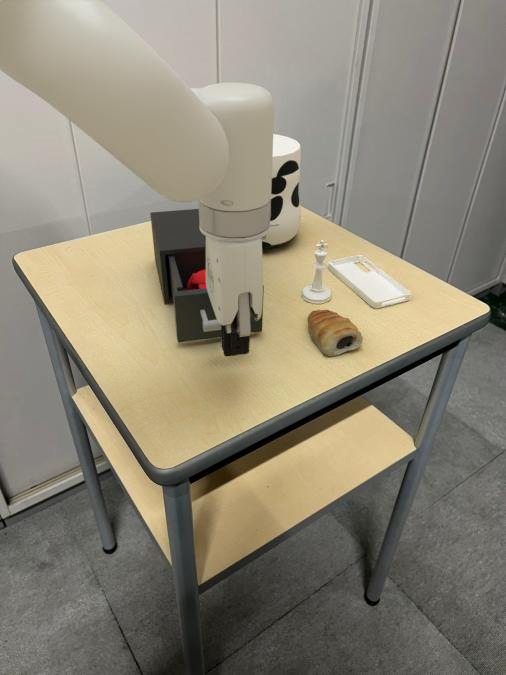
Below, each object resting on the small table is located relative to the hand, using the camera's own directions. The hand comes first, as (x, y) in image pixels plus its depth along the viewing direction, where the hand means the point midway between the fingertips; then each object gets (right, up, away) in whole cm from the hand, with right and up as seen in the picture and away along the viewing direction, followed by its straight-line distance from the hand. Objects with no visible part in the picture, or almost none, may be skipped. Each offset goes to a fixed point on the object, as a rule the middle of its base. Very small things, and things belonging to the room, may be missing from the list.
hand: (235, 351), depth 65 cm
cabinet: (-7, +12, +25) cm, 28 cm away
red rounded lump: (-4, +7, +14) cm, 16 cm away
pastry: (+14, +1, +11) cm, 18 cm away
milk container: (+3, +22, +39) cm, 44 cm away
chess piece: (+13, +9, +21) cm, 26 cm away
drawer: (-4, +4, +13) cm, 14 cm away
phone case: (+22, +11, +24) cm, 35 cm away
